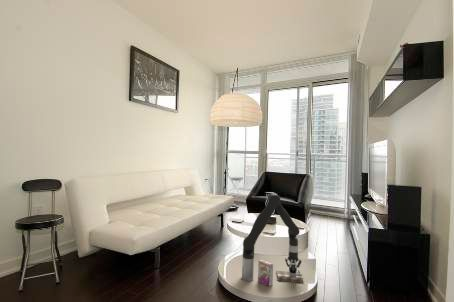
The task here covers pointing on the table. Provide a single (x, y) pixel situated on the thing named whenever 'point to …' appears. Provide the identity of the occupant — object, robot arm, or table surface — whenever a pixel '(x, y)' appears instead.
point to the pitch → (286, 277)
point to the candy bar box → (265, 273)
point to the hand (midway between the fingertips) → (292, 271)
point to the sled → (292, 271)
